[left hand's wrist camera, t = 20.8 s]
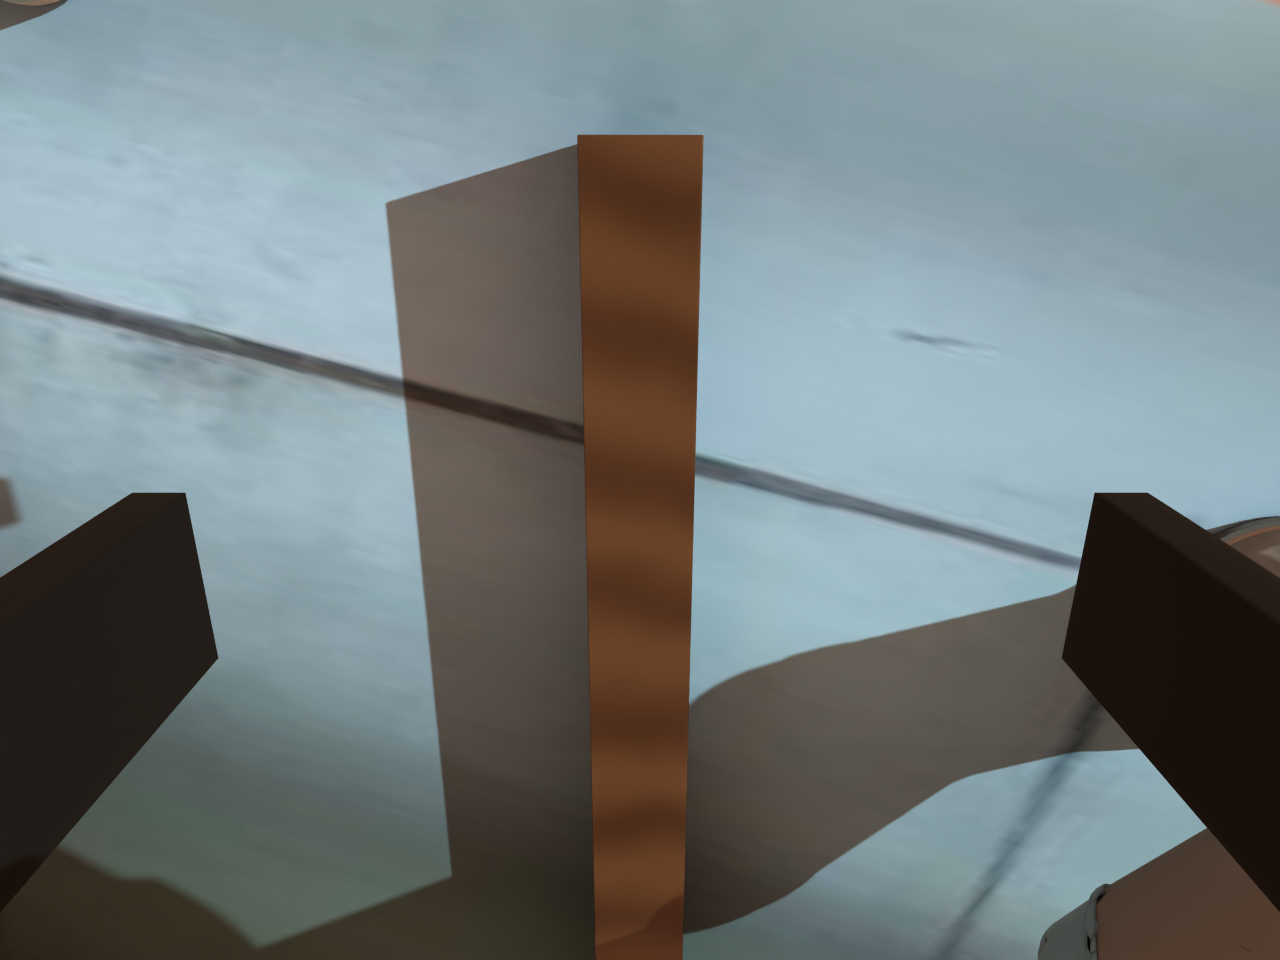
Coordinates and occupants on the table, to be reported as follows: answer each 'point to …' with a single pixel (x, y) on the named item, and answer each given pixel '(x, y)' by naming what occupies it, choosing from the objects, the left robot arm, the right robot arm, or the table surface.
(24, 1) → the pill bottle
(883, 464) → the table surface
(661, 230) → the post
